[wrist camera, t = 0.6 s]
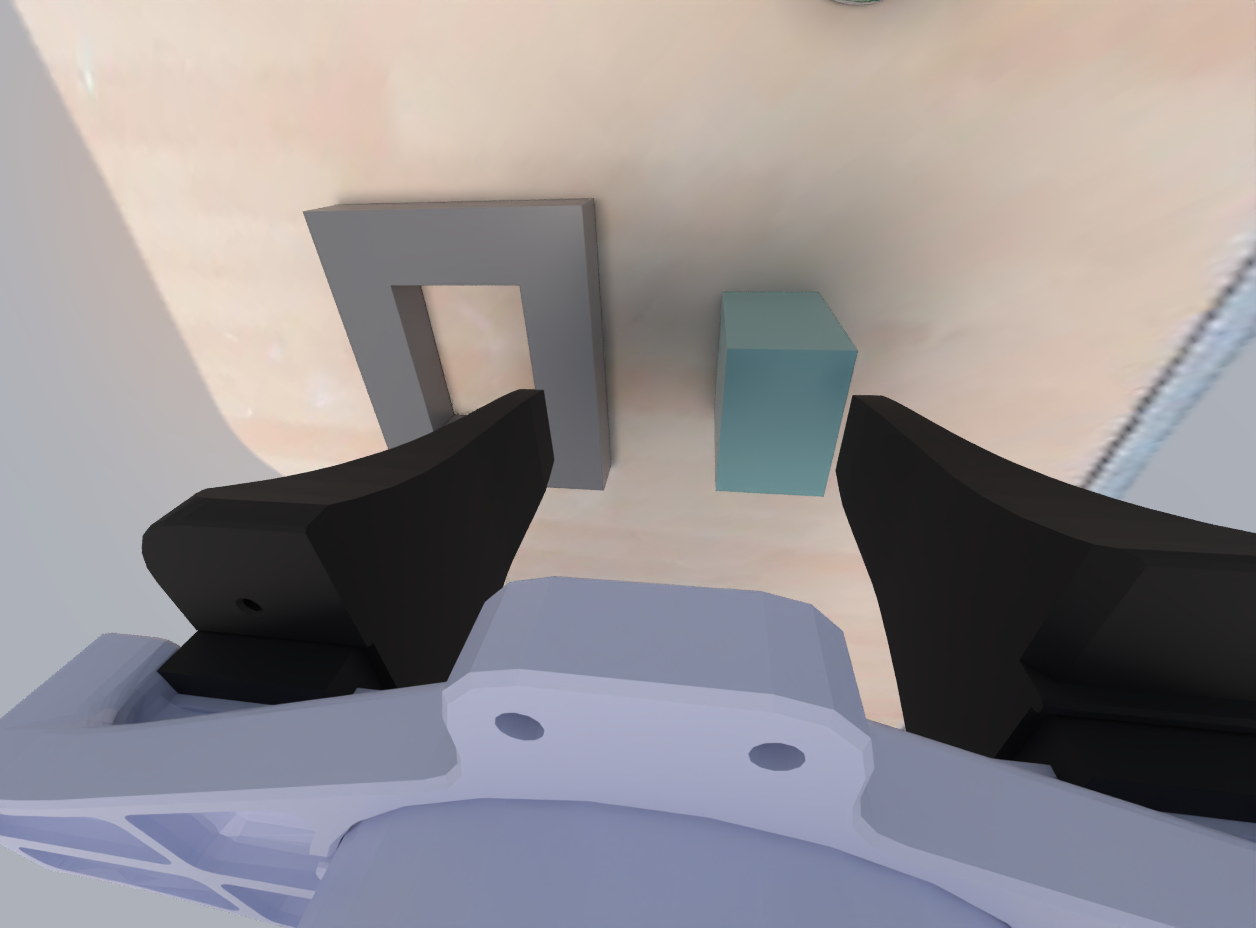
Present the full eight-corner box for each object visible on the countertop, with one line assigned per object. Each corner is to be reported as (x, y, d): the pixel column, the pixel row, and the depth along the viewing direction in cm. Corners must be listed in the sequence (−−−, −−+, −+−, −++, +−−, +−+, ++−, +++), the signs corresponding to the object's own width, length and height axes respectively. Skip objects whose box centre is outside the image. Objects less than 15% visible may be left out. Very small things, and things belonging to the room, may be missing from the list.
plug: (796, 411, 21) (823, 496, 16) (714, 408, 22) (715, 490, 17) (817, 291, 18) (858, 350, 13) (722, 291, 19) (727, 348, 14)
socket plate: (611, 465, 24) (603, 490, 22) (419, 456, 25) (399, 478, 24) (594, 198, 18) (581, 205, 16) (338, 204, 19) (302, 211, 17)
